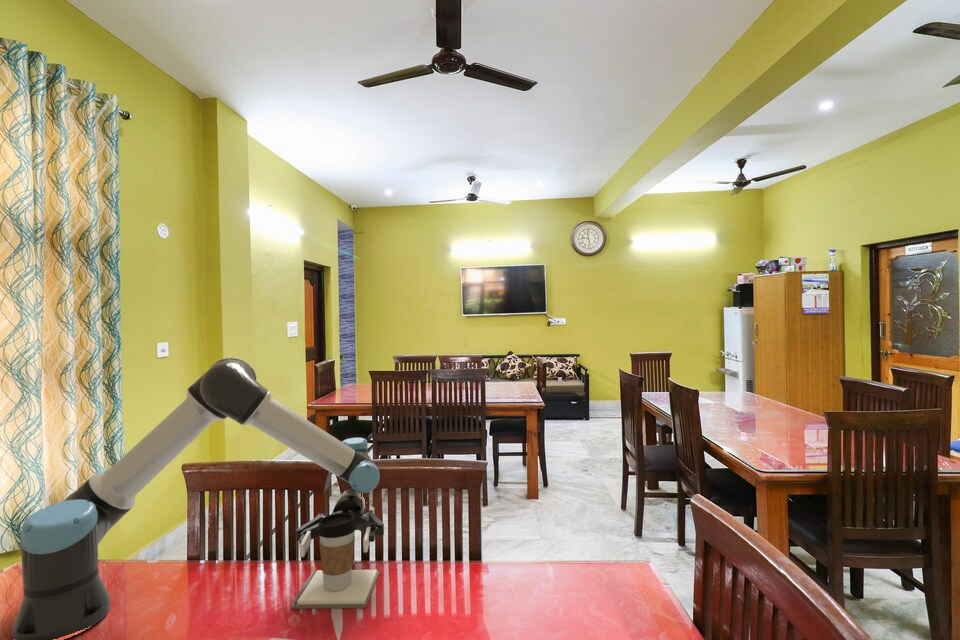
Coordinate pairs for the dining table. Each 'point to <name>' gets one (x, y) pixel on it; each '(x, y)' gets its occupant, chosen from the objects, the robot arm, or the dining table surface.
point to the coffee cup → (337, 549)
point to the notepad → (336, 592)
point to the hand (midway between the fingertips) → (333, 548)
